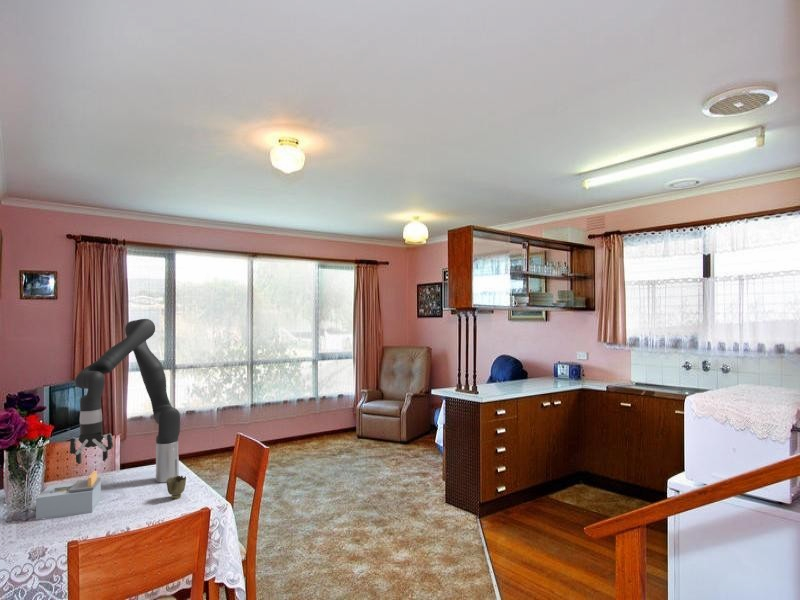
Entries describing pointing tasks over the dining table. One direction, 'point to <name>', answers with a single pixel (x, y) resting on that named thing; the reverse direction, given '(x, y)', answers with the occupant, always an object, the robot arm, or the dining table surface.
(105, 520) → the dining table surface
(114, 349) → the robot arm
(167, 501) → the dining table surface
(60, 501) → the housing
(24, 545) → the dining table surface
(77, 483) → the lid
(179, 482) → the cup
